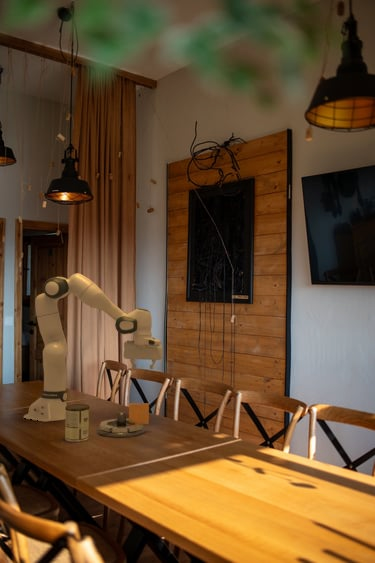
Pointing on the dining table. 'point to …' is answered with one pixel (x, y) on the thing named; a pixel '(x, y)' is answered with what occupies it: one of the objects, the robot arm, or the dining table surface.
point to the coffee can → (77, 422)
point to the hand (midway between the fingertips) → (143, 368)
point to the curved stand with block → (136, 419)
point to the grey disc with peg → (121, 423)
